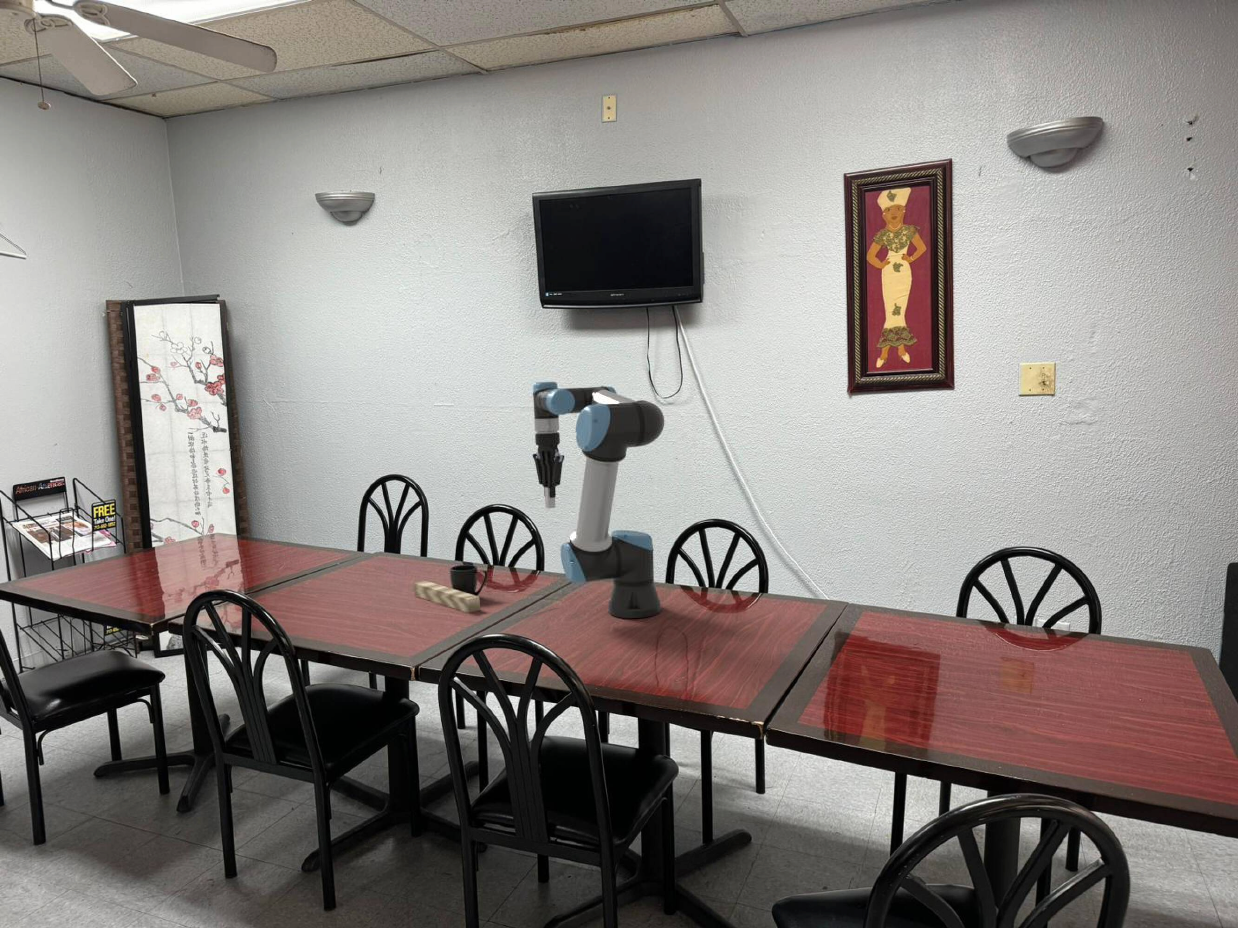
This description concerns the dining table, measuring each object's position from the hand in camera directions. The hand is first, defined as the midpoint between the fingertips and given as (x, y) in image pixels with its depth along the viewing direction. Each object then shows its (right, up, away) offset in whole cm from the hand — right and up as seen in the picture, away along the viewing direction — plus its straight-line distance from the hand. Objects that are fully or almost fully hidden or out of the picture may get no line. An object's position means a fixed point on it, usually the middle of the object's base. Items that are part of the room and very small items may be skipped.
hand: (550, 507), depth 275 cm
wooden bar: (-31, -28, -7) cm, 43 cm away
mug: (-24, -28, -2) cm, 37 cm away
